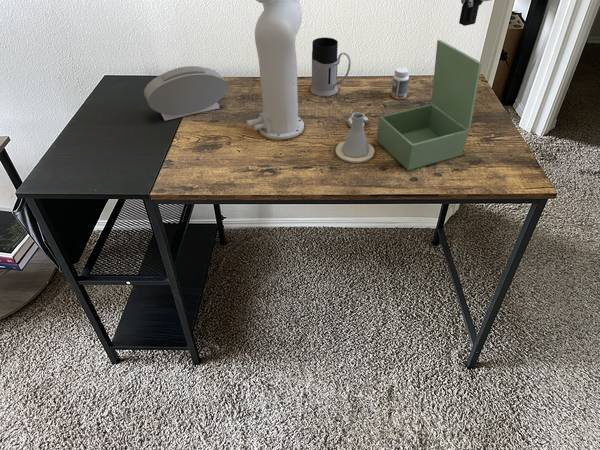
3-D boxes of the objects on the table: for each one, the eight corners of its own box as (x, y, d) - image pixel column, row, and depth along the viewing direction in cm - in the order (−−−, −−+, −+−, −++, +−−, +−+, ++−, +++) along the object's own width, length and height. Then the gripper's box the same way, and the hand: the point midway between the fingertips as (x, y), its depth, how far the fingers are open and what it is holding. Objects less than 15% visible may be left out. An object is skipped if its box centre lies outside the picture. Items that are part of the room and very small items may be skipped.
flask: (370, 157, 114) (374, 122, 107) (342, 158, 114) (343, 122, 107) (368, 142, 119) (371, 107, 113) (340, 142, 119) (342, 108, 113)
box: (407, 170, 111) (412, 145, 106) (376, 140, 121) (379, 116, 116) (462, 155, 115) (468, 130, 110) (427, 127, 126) (432, 103, 121)
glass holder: (323, 81, 148) (323, 34, 138) (357, 94, 141) (360, 46, 131) (304, 90, 144) (304, 42, 134) (338, 104, 136) (340, 55, 126)
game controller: (359, 132, 124) (360, 123, 123) (326, 119, 130) (326, 110, 128) (371, 123, 127) (372, 115, 126) (338, 111, 133) (339, 103, 131)
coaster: (346, 166, 112) (346, 164, 112) (329, 146, 119) (329, 144, 119) (381, 157, 115) (381, 155, 115) (362, 138, 122) (362, 136, 122)
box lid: (479, 63, 98) (481, 62, 98) (437, 40, 109) (439, 39, 109) (467, 129, 110) (470, 128, 110) (431, 102, 120) (433, 102, 121)
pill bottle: (408, 94, 141) (412, 67, 135) (404, 100, 137) (408, 74, 132) (393, 91, 142) (396, 65, 136) (389, 97, 139) (392, 71, 133)
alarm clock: (224, 98, 141) (218, 57, 132) (230, 106, 137) (225, 65, 128) (149, 114, 134) (138, 73, 125) (153, 124, 129) (142, 82, 121)
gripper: (447, -78, 93) (433, 16, 105) (497, -65, 82) (474, 37, 95) (477, -81, 95) (459, 11, 107) (530, -70, 84) (503, 31, 97)
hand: (466, 23), depth 101 cm, fingers closed
